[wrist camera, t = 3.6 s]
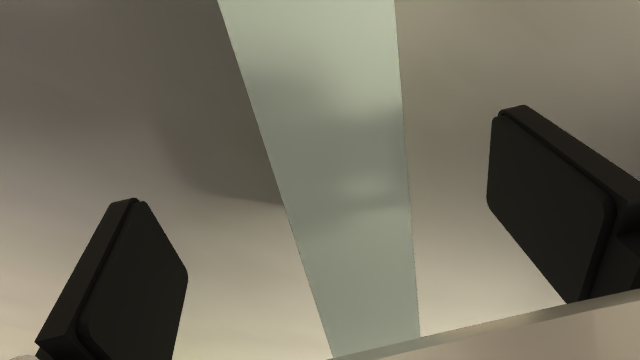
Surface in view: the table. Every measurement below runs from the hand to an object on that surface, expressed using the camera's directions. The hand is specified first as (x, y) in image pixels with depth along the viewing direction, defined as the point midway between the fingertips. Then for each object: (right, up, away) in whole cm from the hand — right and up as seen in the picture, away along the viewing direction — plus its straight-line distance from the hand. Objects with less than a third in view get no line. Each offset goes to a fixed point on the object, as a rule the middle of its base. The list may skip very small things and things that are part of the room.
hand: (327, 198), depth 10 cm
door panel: (0, +6, +9) cm, 10 cm away
